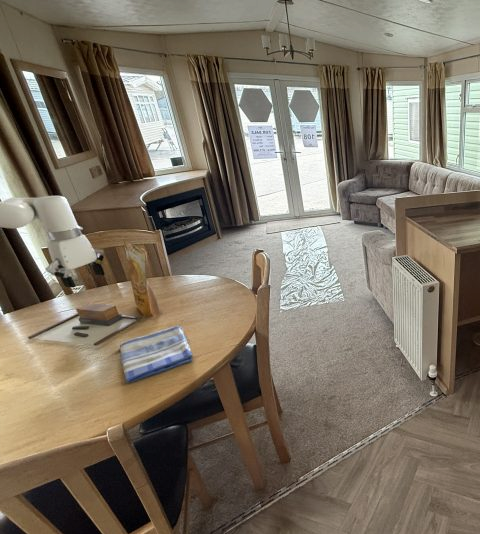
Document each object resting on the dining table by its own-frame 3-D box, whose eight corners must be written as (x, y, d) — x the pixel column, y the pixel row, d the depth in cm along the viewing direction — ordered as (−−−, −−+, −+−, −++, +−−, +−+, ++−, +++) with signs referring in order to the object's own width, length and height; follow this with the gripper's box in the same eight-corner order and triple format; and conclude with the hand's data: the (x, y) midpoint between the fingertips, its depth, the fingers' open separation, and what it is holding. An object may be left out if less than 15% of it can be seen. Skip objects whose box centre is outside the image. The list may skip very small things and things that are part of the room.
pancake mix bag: (154, 299, 143) (131, 236, 131) (168, 315, 132) (146, 248, 121) (133, 305, 138) (108, 240, 126) (147, 322, 127) (121, 253, 116)
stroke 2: (74, 335, 117) (73, 333, 117) (77, 333, 118) (76, 331, 117) (85, 337, 116) (84, 335, 116) (88, 335, 117) (88, 334, 116)
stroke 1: (72, 329, 120) (71, 327, 120) (75, 328, 121) (74, 326, 121) (86, 329, 120) (86, 327, 120) (89, 328, 121) (88, 326, 121)
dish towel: (183, 329, 124) (180, 322, 123) (196, 360, 108) (193, 353, 107) (120, 348, 113) (117, 341, 112) (125, 386, 97) (121, 379, 96)
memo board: (29, 340, 115) (27, 336, 114) (83, 314, 131) (81, 311, 130) (97, 348, 113) (95, 344, 112) (144, 320, 128) (142, 317, 127)
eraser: (80, 323, 124) (73, 309, 121) (94, 316, 128) (88, 302, 126) (109, 326, 122) (103, 312, 120) (122, 318, 127) (117, 305, 125)
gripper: (83, 226, 119) (101, 269, 126) (22, 242, 104) (48, 291, 111) (101, 227, 119) (119, 271, 126) (44, 243, 103) (68, 293, 110)
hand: (86, 280), depth 118 cm, fingers open, 9 cm apart
